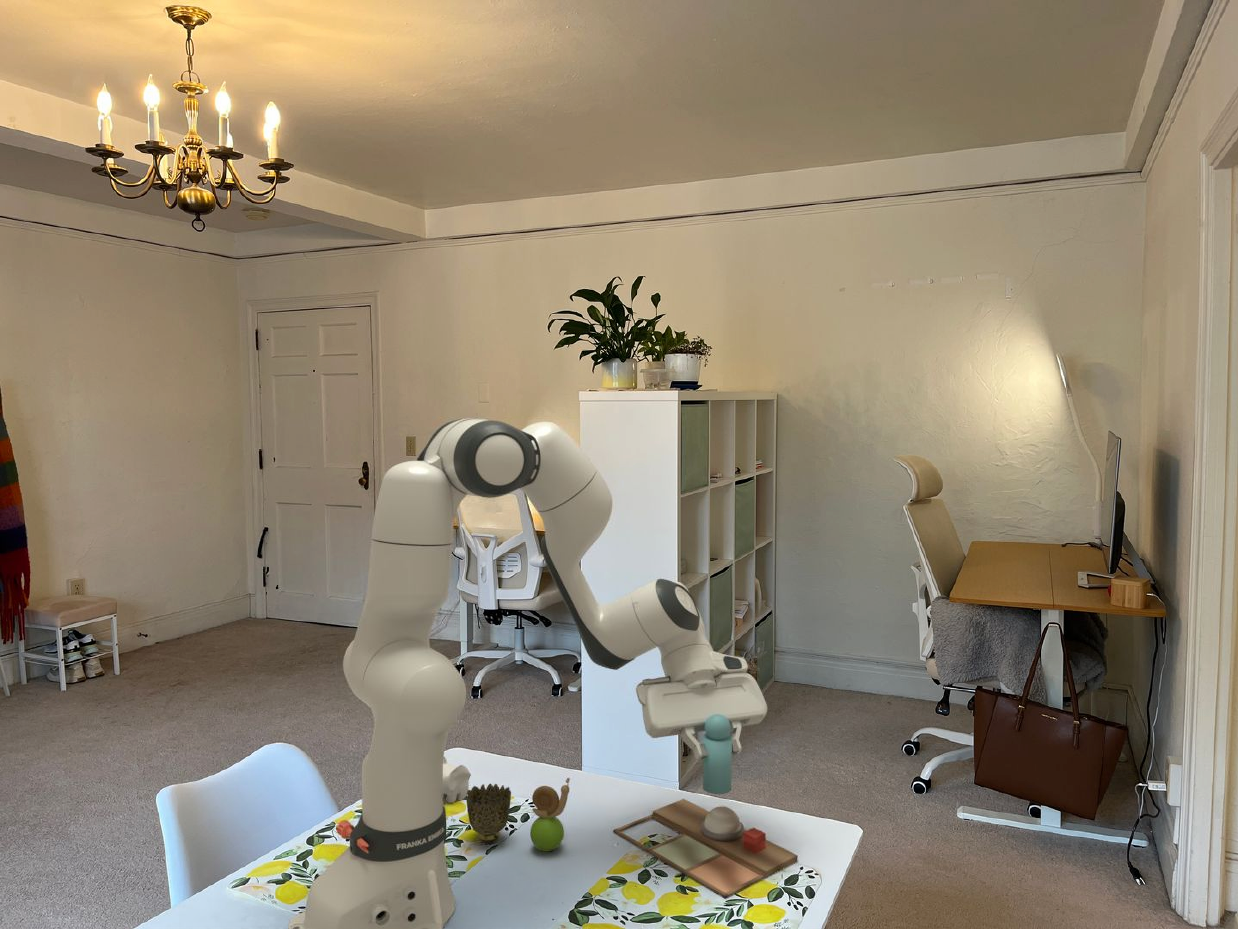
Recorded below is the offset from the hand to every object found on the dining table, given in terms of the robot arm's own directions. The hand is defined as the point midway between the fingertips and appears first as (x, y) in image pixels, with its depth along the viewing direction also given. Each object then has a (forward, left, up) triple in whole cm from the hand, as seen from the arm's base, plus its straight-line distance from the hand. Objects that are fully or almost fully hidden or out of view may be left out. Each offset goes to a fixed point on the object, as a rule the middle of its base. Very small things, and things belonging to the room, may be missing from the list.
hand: (719, 755), depth 132 cm
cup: (-22, +31, -19) cm, 42 cm away
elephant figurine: (-20, +49, -19) cm, 56 cm away
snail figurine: (-16, +22, -19) cm, 33 cm away
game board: (+4, +7, -19) cm, 21 cm away
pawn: (0, +1, -5) cm, 5 cm away
